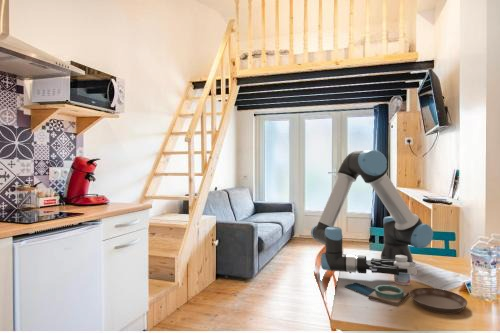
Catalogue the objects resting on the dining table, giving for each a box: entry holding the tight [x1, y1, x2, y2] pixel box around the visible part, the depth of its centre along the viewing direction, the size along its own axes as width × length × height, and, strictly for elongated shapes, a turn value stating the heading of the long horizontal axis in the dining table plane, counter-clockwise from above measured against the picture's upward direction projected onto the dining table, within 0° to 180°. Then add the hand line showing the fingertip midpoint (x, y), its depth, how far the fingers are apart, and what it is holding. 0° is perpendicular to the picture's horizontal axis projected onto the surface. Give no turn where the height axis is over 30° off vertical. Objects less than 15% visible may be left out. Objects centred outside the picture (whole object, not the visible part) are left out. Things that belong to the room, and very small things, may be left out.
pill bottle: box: [393, 255, 411, 286], centre depth 135 cm, size 6×6×11 cm
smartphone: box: [344, 282, 375, 298], centre depth 127 cm, size 8×15×1 cm, turn 30°
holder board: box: [367, 284, 410, 307], centre depth 121 cm, size 13×10×3 cm
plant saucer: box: [409, 287, 468, 315], centre depth 113 cm, size 18×18×3 cm
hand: (415, 268), depth 133 cm, fingers closed on pill bottle, 6 cm apart
